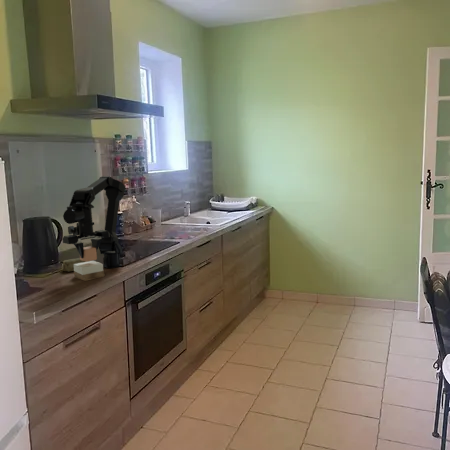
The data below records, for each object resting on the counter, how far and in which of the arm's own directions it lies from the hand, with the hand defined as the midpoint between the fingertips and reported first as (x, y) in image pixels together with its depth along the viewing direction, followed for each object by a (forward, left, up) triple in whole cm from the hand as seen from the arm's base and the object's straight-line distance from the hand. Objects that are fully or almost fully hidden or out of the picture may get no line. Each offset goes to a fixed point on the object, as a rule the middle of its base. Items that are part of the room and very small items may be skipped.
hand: (88, 257), depth 194 cm
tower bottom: (0, 0, -9) cm, 9 cm away
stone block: (-3, -17, -9) cm, 19 cm away
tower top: (0, 0, -6) cm, 6 cm away
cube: (0, 0, -1) cm, 1 cm away
